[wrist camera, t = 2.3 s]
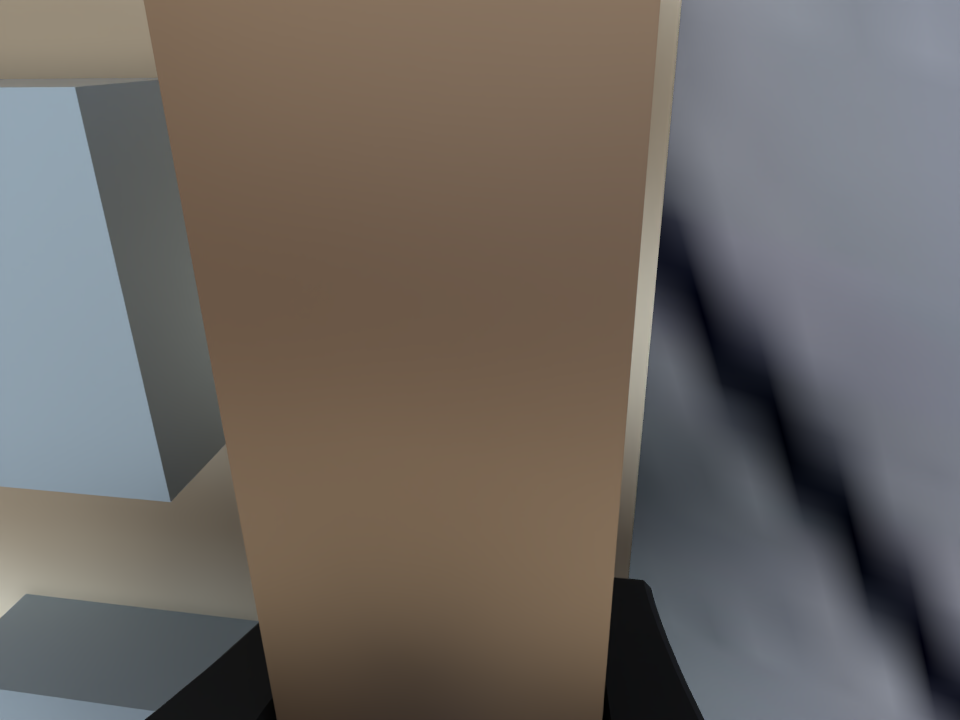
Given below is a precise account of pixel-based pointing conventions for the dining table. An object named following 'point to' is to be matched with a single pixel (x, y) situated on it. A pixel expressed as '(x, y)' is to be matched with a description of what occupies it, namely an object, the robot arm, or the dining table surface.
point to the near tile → (98, 296)
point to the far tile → (102, 657)
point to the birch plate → (210, 494)
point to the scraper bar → (419, 332)
